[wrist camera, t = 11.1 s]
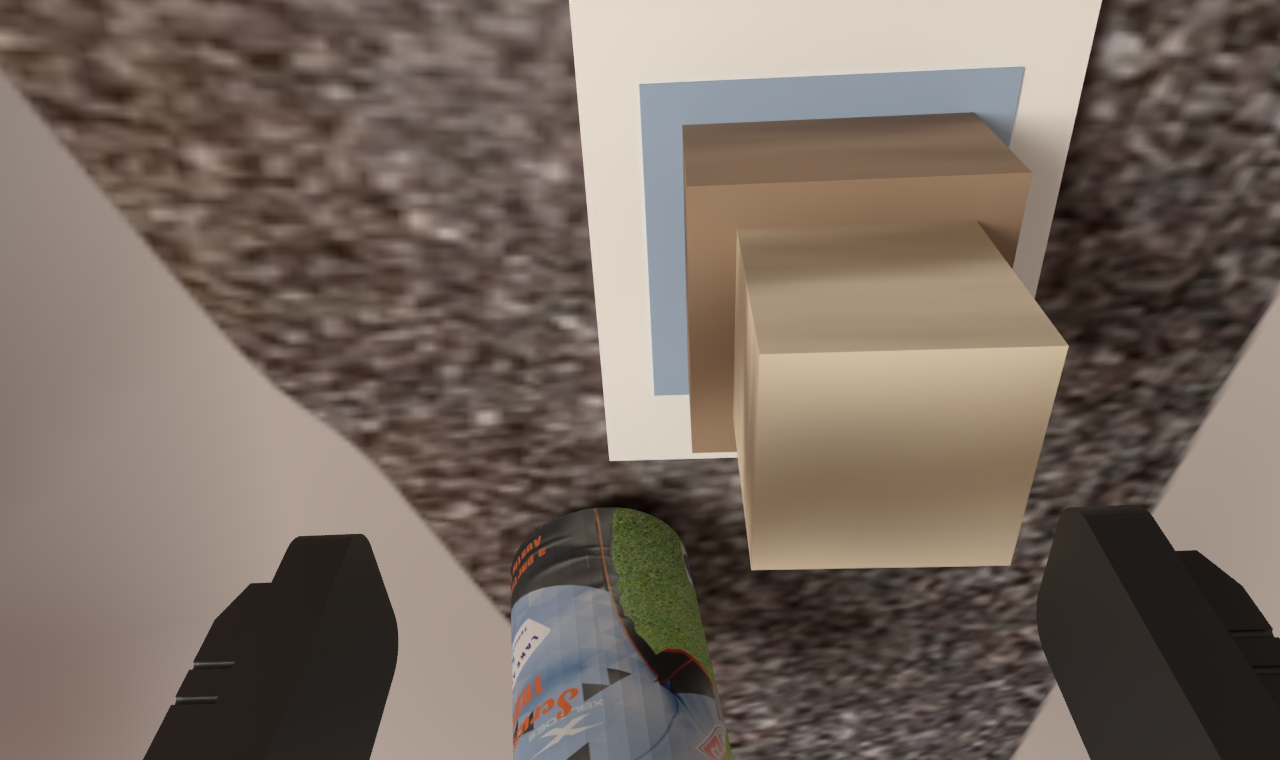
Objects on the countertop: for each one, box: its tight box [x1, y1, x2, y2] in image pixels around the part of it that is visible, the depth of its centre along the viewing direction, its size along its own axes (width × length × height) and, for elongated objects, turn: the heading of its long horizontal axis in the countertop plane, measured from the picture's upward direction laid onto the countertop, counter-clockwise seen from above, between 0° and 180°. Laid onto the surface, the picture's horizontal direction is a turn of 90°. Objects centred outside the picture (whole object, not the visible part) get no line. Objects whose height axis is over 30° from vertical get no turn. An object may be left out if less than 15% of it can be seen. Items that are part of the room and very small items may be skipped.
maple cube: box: [733, 221, 1069, 570], centre depth 18 cm, size 5×5×5 cm
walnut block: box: [682, 112, 1032, 453], centre depth 22 cm, size 7×7×4 cm
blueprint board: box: [569, 0, 1102, 461], centre depth 23 cm, size 16×12×1 cm
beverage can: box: [511, 507, 733, 760], centre depth 26 cm, size 6×7×12 cm
